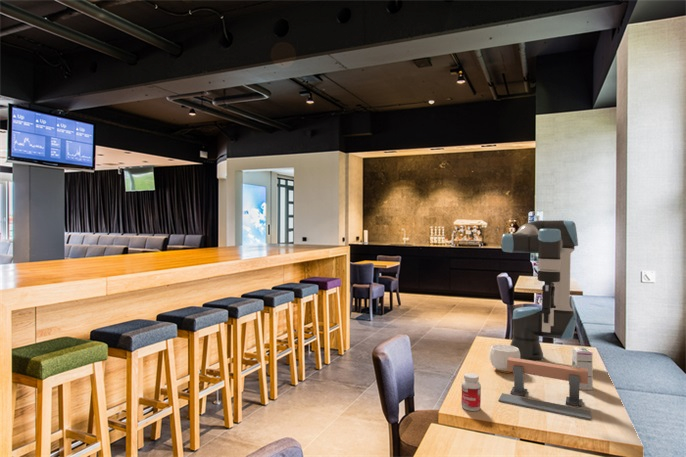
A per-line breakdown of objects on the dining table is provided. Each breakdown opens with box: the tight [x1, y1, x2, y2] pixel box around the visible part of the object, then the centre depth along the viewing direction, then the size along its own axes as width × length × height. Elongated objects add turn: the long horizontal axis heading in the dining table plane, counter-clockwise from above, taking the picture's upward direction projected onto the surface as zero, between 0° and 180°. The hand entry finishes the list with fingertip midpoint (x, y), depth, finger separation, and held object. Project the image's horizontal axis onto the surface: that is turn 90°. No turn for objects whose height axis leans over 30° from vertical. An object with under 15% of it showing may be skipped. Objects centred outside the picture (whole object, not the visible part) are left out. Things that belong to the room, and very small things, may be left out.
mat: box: [498, 392, 592, 421], centre depth 147 cm, size 7×28×1 cm, turn 60°
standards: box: [510, 365, 583, 409], centre depth 155 cm, size 7×23×11 cm, turn 60°
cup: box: [489, 343, 520, 374], centre depth 184 cm, size 12×12×10 cm
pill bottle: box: [461, 372, 482, 412], centre depth 146 cm, size 6×6×11 cm
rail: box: [507, 357, 588, 384], centre depth 155 cm, size 4×26×4 cm, turn 60°
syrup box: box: [571, 346, 594, 391], centre depth 166 cm, size 6×6×14 cm
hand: (547, 328), depth 158 cm, fingers open, 13 cm apart
